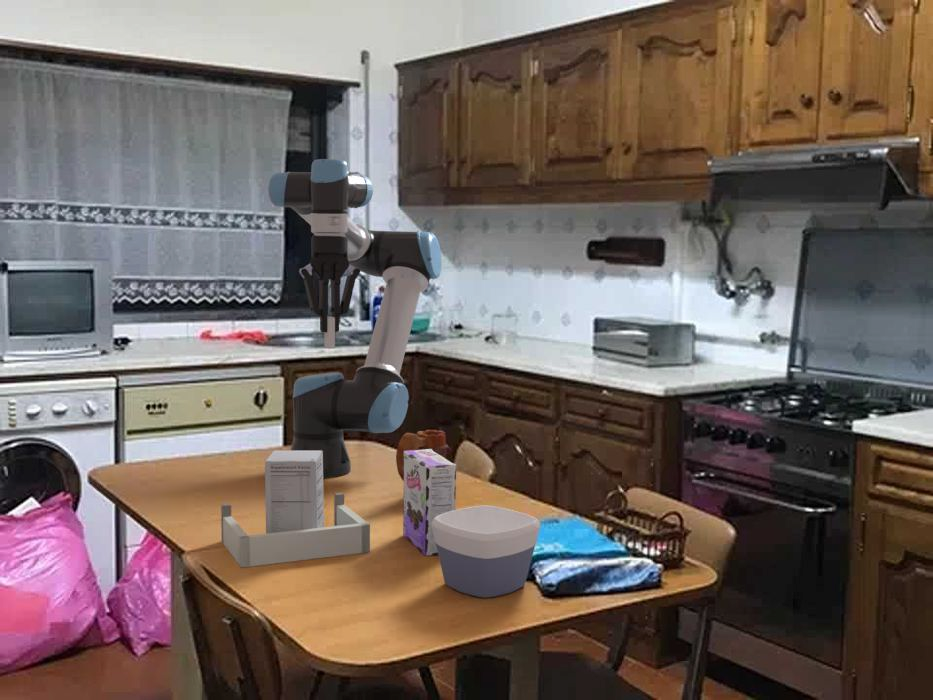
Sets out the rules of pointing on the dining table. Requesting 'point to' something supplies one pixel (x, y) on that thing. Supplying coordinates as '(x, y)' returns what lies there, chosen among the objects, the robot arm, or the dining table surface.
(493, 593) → the bowl
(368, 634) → the dining table surface
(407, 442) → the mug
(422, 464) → the candy box
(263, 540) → the bay
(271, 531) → the supplement box
